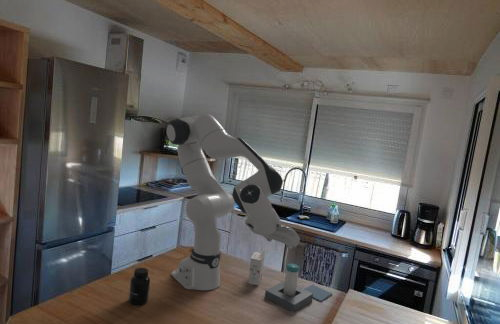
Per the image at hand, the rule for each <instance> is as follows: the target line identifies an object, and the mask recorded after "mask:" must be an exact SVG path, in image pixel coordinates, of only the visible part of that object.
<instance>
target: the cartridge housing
mask: <svg viewBox="0 0 500 324" xmlns="http://www.w3.org/2000/svg"><path fill="white" fill-rule="evenodd" d="M284 283H285V280H284V281H281V282H279V283H278V284H275V285H273V286H271V287H269V288H268V289H265V294H264V298H265V299H268V300H269V301H271V302H273V303H275V304H277V305H279V306H281V307H283V308H285V309H287V310H289V311H290V312H292V313H294V312H296V311H298V310H299V309H301V308H303V307H304V306H306V305H307V304H309V303H311V302H312V301H313V299H314V298H313V293H311V292H309V291H306V290H304V289H305V288H302V287H299V286H297V287H296V294H295V297H293V298H291V297H289V296H287V295H285V294H283V290H284Z"/></svg>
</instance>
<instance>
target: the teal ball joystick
mask: <svg viewBox="0 0 500 324" xmlns="http://www.w3.org/2000/svg"><path fill="white" fill-rule="evenodd" d="M299 271H300V266H299V265H297V264H295V263H287V264H286V269H285V277H284V281H285V283H284V290H283V294H285V295H287V296H289V297H291V298H293V297H295V294H296V287H297V285H298V279H299Z"/></svg>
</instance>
